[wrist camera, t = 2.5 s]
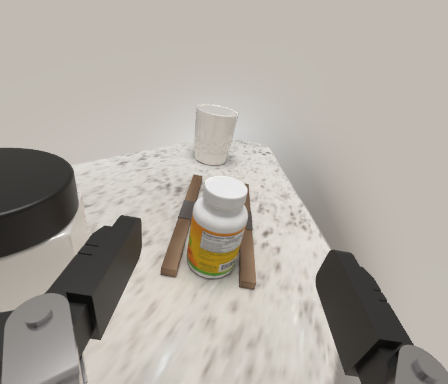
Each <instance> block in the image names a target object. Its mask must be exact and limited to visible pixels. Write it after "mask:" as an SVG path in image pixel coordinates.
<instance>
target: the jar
mask: <svg viewBox="0 0 448 384" xmlns="http://www.w3.org/2000/svg"><path fill="white" fill-rule="evenodd" d="M88 239H89V234H88V228H87V222H86V216H85V210H84V204H83V198H82V194H81V193H80V192H77V188H76V182H75V176H74V171H73V168H72V167H71V165H70V164H69V163H68V162H67V161H65V160H64V159H63V158H61V157H59V156H57V155H54V154H51V153H48V152H44V151H39V150H33V149H22V148H0V312H6V311H11V310H15V309H16V308H17V307H18V306H20V305H21V304H22V303H24V302H25V301H27V300H29V299H31V298H33V297H35V296H38V295H42V294H44V293H45V292H46V291H47V290H48V289H49V288H50V287H51V285H52V284H53V283H54V282H55V280H56V279H57V278H58V277H59V275H60V274H61V273H62V272H63V270H64V269H65V268H66V266H67V265H68V264H69V263H70V261H71V260H72V259H73V258H74V256H75V255H77V254H78V251H79V250H80V249H81V248H82V246H84V244H85V242H86V241H87V240H88Z"/></svg>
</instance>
